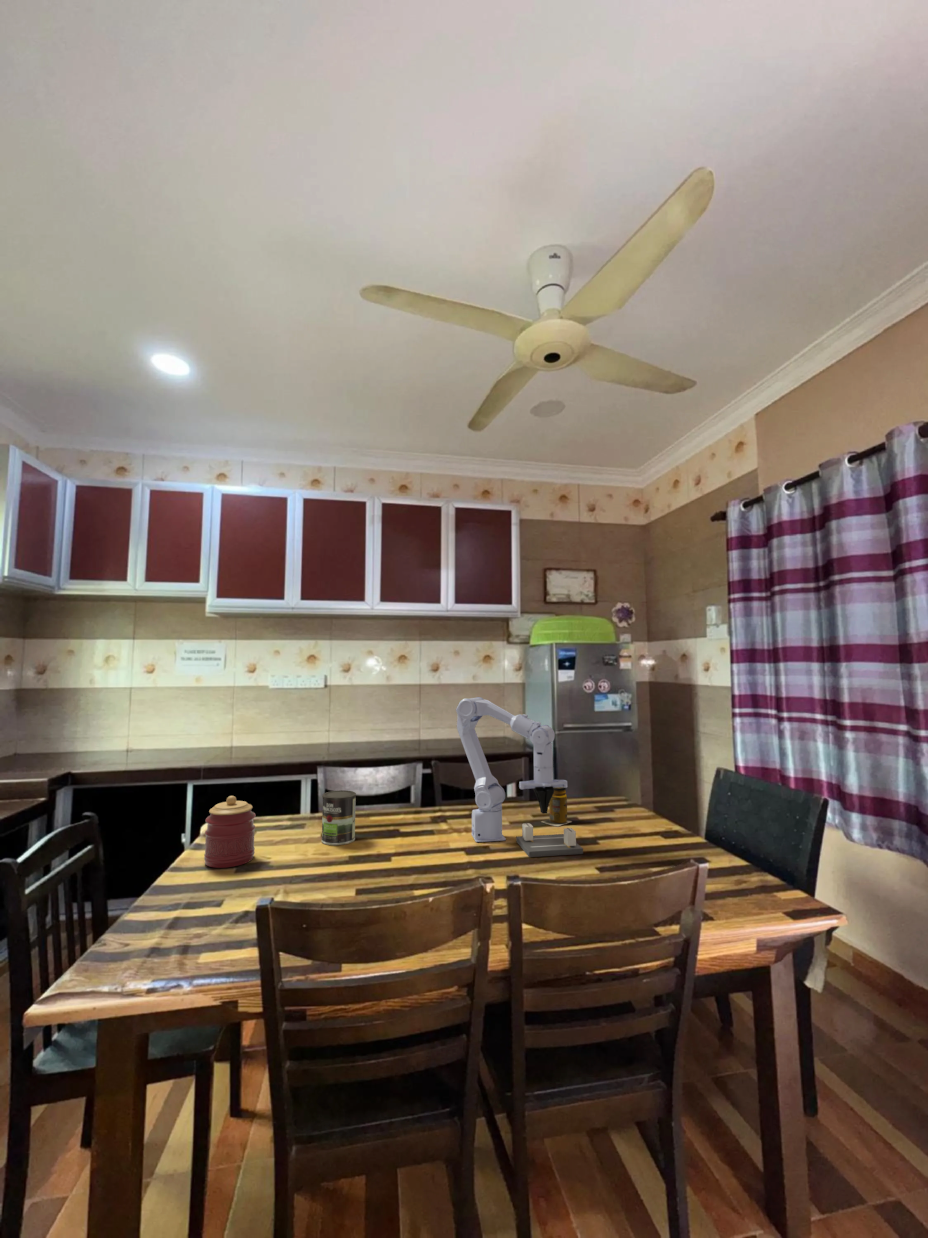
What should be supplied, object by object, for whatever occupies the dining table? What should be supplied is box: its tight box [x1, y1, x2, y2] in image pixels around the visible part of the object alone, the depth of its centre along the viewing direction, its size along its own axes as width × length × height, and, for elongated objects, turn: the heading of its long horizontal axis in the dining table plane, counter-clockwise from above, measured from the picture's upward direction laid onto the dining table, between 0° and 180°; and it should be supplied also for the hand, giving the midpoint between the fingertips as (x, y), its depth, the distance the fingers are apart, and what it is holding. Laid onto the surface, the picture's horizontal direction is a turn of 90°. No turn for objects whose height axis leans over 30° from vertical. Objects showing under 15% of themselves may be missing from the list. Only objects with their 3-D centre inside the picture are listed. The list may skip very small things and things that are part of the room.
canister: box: [203, 795, 256, 869], centre depth 155 cm, size 13×13×18 cm
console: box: [515, 833, 584, 858], centre depth 165 cm, size 16×14×2 cm
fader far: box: [521, 822, 534, 841], centre depth 168 cm, size 2×4×4 cm
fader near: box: [563, 827, 577, 846], centre depth 162 cm, size 2×4×4 cm
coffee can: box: [321, 790, 357, 846], centre depth 173 cm, size 10×10×14 cm
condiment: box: [540, 787, 573, 827], centre depth 192 cm, size 7×8×12 cm
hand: (543, 812), depth 166 cm, fingers closed
